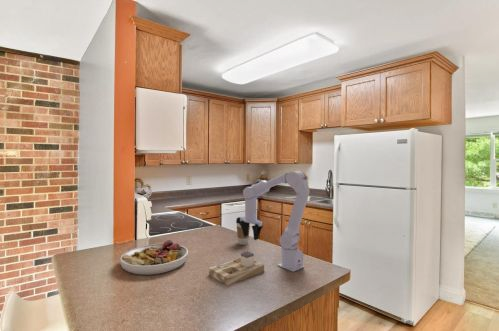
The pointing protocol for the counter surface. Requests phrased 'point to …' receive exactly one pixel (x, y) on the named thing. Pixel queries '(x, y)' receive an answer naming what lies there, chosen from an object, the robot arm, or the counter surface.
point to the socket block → (234, 271)
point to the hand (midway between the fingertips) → (250, 237)
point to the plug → (247, 259)
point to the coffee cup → (241, 233)
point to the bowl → (154, 258)
